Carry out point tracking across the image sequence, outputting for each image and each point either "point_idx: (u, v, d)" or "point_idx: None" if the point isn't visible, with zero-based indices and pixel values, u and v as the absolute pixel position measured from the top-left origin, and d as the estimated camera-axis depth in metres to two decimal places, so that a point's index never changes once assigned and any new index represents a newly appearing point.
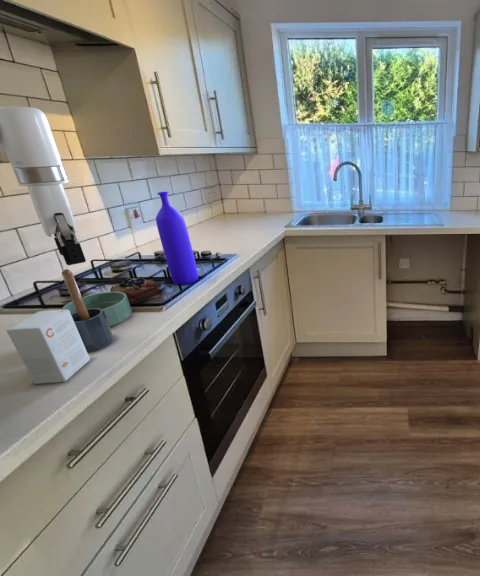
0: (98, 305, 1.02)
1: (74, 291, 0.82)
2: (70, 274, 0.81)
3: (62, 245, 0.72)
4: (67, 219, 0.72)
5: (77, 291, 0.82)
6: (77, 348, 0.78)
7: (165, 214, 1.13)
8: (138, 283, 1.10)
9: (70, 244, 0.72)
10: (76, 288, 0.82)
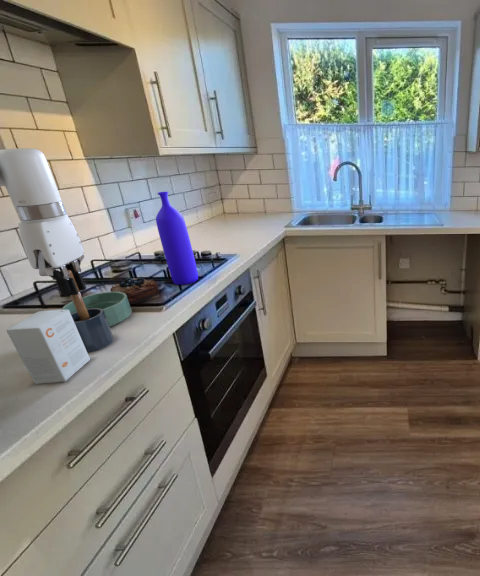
0: (98, 305, 1.02)
1: None
2: (70, 274, 0.81)
3: (54, 279, 0.78)
4: (44, 256, 0.74)
5: None
6: (77, 348, 0.78)
7: (165, 214, 1.13)
8: (138, 283, 1.10)
9: (59, 279, 0.78)
10: None
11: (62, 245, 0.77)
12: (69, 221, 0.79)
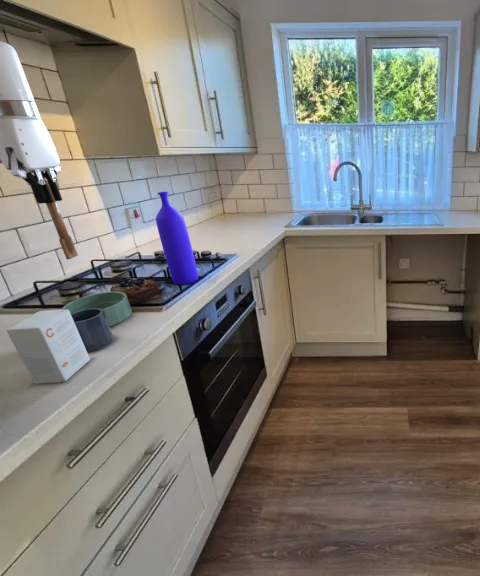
0: (98, 305, 1.02)
1: None
2: (45, 181, 0.80)
3: (28, 183, 0.78)
4: (17, 154, 0.73)
5: None
6: (77, 348, 0.78)
7: (165, 214, 1.13)
8: (138, 283, 1.10)
9: (34, 183, 0.78)
10: None
11: (36, 147, 0.76)
12: (44, 126, 0.79)
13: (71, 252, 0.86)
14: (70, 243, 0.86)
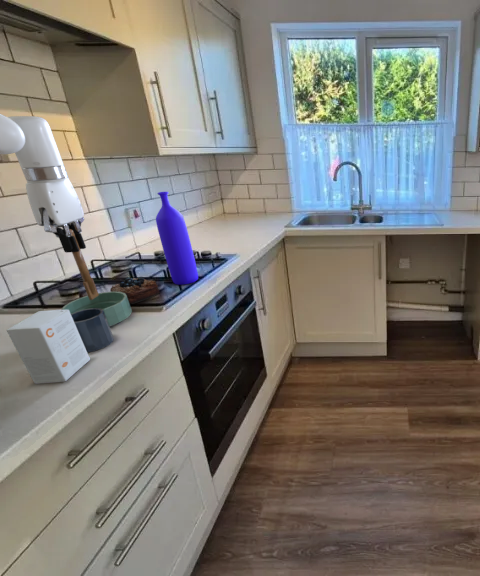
0: (98, 305, 1.02)
1: None
2: (72, 233, 0.89)
3: (57, 236, 0.87)
4: (49, 213, 0.83)
5: None
6: (77, 348, 0.78)
7: (165, 214, 1.13)
8: (138, 283, 1.10)
9: (62, 236, 0.87)
10: None
11: (64, 205, 0.86)
12: (70, 185, 0.88)
13: (93, 293, 0.96)
14: (92, 285, 0.95)
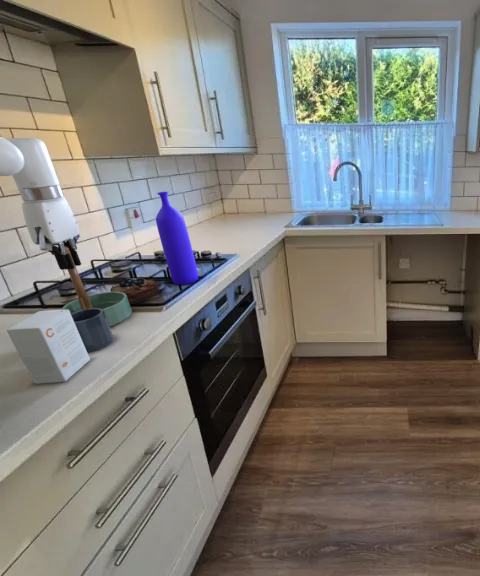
0: (98, 305, 1.02)
1: None
2: (67, 250, 0.91)
3: (52, 254, 0.89)
4: (44, 232, 0.84)
5: None
6: (77, 348, 0.78)
7: (165, 214, 1.13)
8: (138, 283, 1.10)
9: (57, 254, 0.89)
10: None
11: (60, 224, 0.87)
12: (66, 203, 0.90)
13: None
14: (87, 301, 0.96)
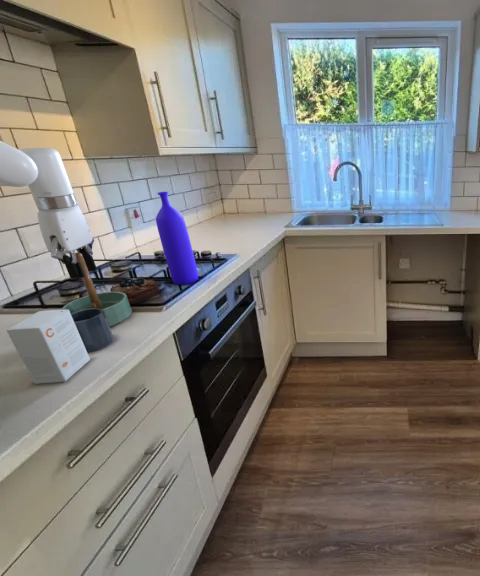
0: None
1: (85, 272, 0.93)
2: (81, 257, 0.92)
3: (63, 263, 0.89)
4: (59, 241, 0.85)
5: (86, 272, 0.94)
6: (77, 348, 0.78)
7: (165, 214, 1.13)
8: (138, 283, 1.10)
9: (68, 263, 0.89)
10: (86, 269, 0.93)
11: (74, 232, 0.88)
12: (80, 211, 0.91)
13: None
14: (100, 306, 0.98)
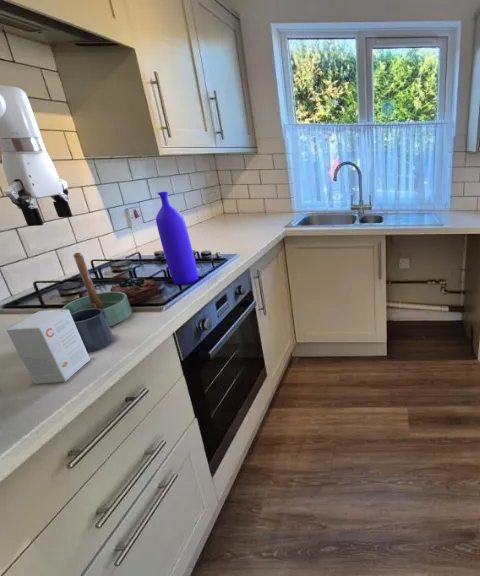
0: None
1: (85, 272, 0.93)
2: (81, 257, 0.92)
3: (19, 207, 0.82)
4: (24, 185, 0.81)
5: (86, 272, 0.94)
6: (77, 348, 0.78)
7: (165, 214, 1.13)
8: (138, 283, 1.10)
9: (24, 207, 0.82)
10: (86, 269, 0.93)
11: (41, 178, 0.84)
12: (49, 159, 0.87)
13: None
14: (100, 306, 0.98)
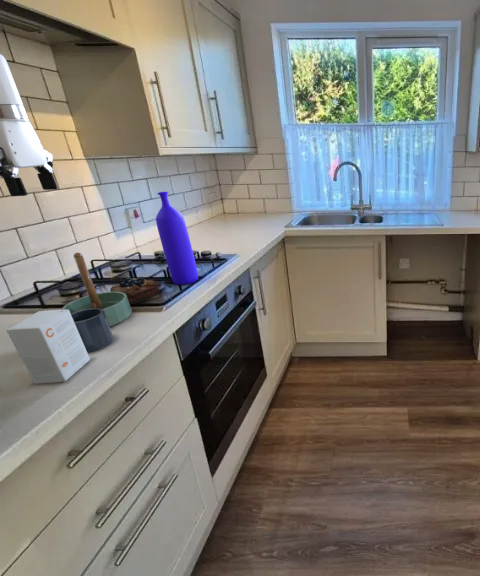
0: None
1: (85, 272, 0.93)
2: (81, 257, 0.92)
3: (1, 177, 0.81)
4: (6, 154, 0.80)
5: (86, 272, 0.94)
6: (77, 348, 0.78)
7: (165, 214, 1.13)
8: (138, 283, 1.10)
9: (7, 177, 0.81)
10: (86, 269, 0.93)
11: (24, 147, 0.83)
12: (32, 128, 0.85)
13: None
14: (100, 306, 0.98)
